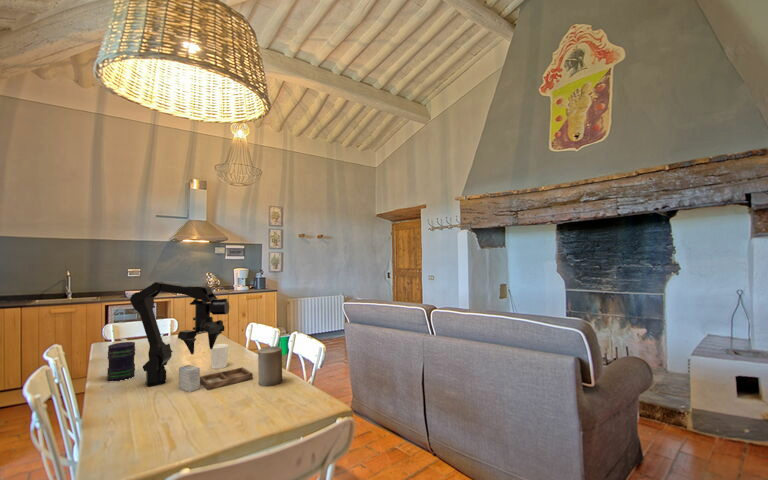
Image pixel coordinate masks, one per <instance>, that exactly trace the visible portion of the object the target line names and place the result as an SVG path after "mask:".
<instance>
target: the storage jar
mask: <svg viewBox="0 0 768 480" xmlns="http://www.w3.org/2000/svg"><path fill="white" fill-rule="evenodd" d="M135 345H136V342H134V341H125V342H123V341H121V342H117V343H113V344H110V345H107V347H108V350H107V360H108V367H107V382H110V381H117V382H121V381H120V380H123V381H126V380H125V379H127V380H130V379H132V377H133V378H135V371H136V364H135V355H136V346H135ZM129 378H130V379H129Z"/></svg>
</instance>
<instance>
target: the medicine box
mask: <svg viewBox="0 0 768 480" xmlns="http://www.w3.org/2000/svg"><path fill="white" fill-rule="evenodd" d="M200 371H201V370H200V367H199V366H196V365H191V364H186V365H183V366H181V367H178V389H179V390H181V391H184V392H185V391H186V392H189V393H191V392H194V391H197V390H200V389H201V384H200V377H201V372H200Z"/></svg>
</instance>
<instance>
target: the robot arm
mask: <svg viewBox="0 0 768 480" xmlns="http://www.w3.org/2000/svg"><path fill="white" fill-rule="evenodd" d="M161 292H163V293H169V294H178V295H184V296H186V297H187V296H188V297H190V298H193V300H192V301H191V302H190V303H189V305H190V306H195V307H194V311H195V313H194V317H193V318H192V321H194V327H192V330H190V329H186V330H181V331H179V332H178V334H177V339H180V341H183V343H185V345H186V347H187V349H188V351H189V353H190V355H192V356H193V355H194V354H195V341H196V340H197V336H198V335H201V334H206V333H207V338H208V345H209V346H208V347H209V349H213V346H214V345H215V343H216V341H217V339H218V337H219V336H220V335H221V334H222V333H223V332H224V331H225V329H226V328H225V326H224V321H223V320H221V319H220V320H217V321H215V320H213V319H214V318H213V316H211V315H214V316H215V315H220V316H221V315H223V316H224V315H228V314H229V313H230V305H229V301H228V298H225V297H224V298H217V296H216V294H215V293H214V292H213V288H212V287H211V286H210V285H208V284H207V285H206V284H203V285H200V284H198V285H186V284H178V283H172V282H166V281H154V282H153V283H152V284H151V285H148V286H146V287H145V288H144V289H142V290H140V291H137V292H135V293H133V294H132V295H131V296H130V298H129V301H130V304H131V306H132V307H133V309H134V310H135V311H136V312H137V313H138V315H139V317H140V320H141V323H142V325H143V329H144V332H145V336H146V339H147V342H148V344H149V350H148V361H147V362H146V363H144V364H143V366H142V369H143V371H144V372H146V373H145V376H146V378H145V382H144V383H145V385H146V386H147V387H151V386H156V385H162V384H165V383H167V382H166V380H167V370H166V366H167V364H168V363H169V361H170V359H172V355H173V354H172V353H174V352H173V350H172V349H171V348H172V347H171V345H170V343H167V344H166V343H165V342H164V341H163V337H162V334H161V331H160V328H159V325H158V321H157V319H156V316H155V312H154V306H155V300H154V298H156V297H157V296H158V295H160V294H161Z"/></svg>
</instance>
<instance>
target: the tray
mask: <svg viewBox="0 0 768 480" xmlns="http://www.w3.org/2000/svg"><path fill="white" fill-rule="evenodd" d="M253 379H254V377H253V373H252V372H251V371H249V370H248V369H246V368H245V367H239V368H238V367H237V368H234V369H230V370H229V369H228V370H225V371H219V372H215V373H211V374H205V375H202V376H201V375H200V386H203V387H204V389H206V390H207V391H210V390H215V389H217V388H223V387H227V386H231V385H234V384H240V383H241V382H242V383H243V382H247V381H251V380H253Z"/></svg>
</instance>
